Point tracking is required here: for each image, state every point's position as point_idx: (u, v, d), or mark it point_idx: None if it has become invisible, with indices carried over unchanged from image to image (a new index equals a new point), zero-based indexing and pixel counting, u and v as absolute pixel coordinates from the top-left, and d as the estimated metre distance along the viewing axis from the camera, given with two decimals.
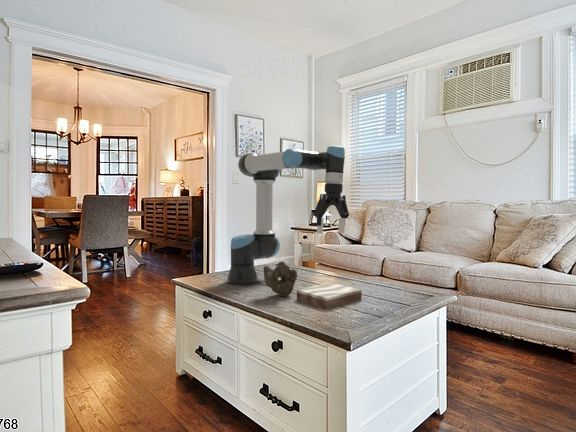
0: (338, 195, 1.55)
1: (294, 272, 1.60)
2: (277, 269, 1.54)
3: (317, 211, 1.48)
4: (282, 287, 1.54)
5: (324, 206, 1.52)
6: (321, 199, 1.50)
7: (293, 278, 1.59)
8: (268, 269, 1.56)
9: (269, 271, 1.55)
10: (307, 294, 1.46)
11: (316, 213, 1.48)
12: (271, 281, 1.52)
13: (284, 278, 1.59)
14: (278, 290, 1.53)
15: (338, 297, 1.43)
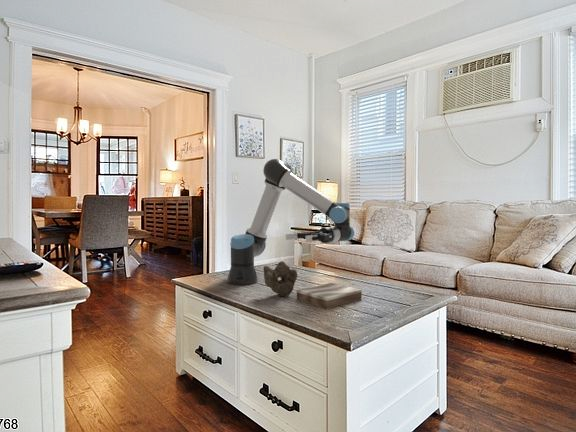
0: None
1: (294, 272, 1.60)
2: (277, 269, 1.54)
3: (325, 239, 1.63)
4: (282, 287, 1.54)
5: None
6: (329, 236, 1.68)
7: (293, 278, 1.59)
8: (268, 269, 1.57)
9: (269, 271, 1.55)
10: (307, 294, 1.46)
11: (324, 239, 1.62)
12: (271, 281, 1.52)
13: (284, 278, 1.59)
14: (278, 290, 1.53)
15: (338, 297, 1.43)
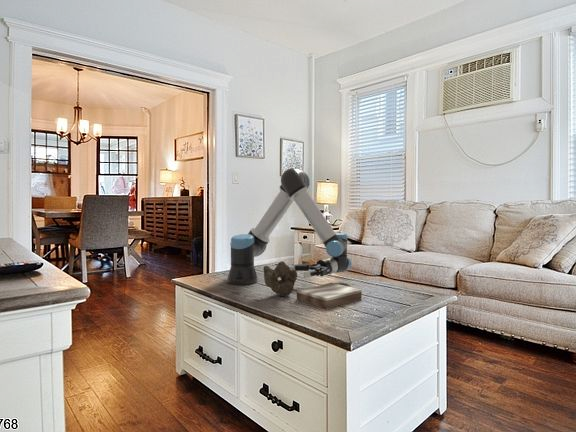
0: None
1: (294, 272, 1.60)
2: (277, 269, 1.54)
3: (323, 274, 1.62)
4: (282, 287, 1.54)
5: (319, 271, 1.67)
6: (327, 270, 1.67)
7: (293, 278, 1.59)
8: (268, 269, 1.56)
9: (269, 271, 1.55)
10: (307, 294, 1.46)
11: (322, 274, 1.62)
12: (271, 281, 1.52)
13: (284, 278, 1.59)
14: (278, 290, 1.53)
15: (338, 297, 1.43)
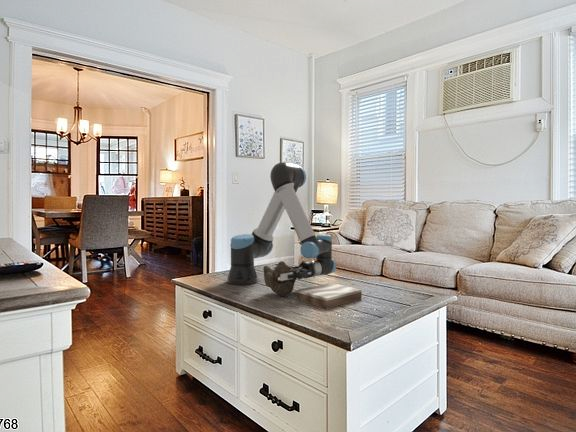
0: None
1: None
2: (277, 269, 1.54)
3: (301, 277, 1.56)
4: (282, 287, 1.54)
5: None
6: (307, 273, 1.60)
7: (293, 278, 1.59)
8: (268, 269, 1.56)
9: (269, 271, 1.55)
10: (307, 294, 1.46)
11: (300, 277, 1.55)
12: (271, 281, 1.52)
13: None
14: (278, 290, 1.53)
15: (338, 297, 1.43)
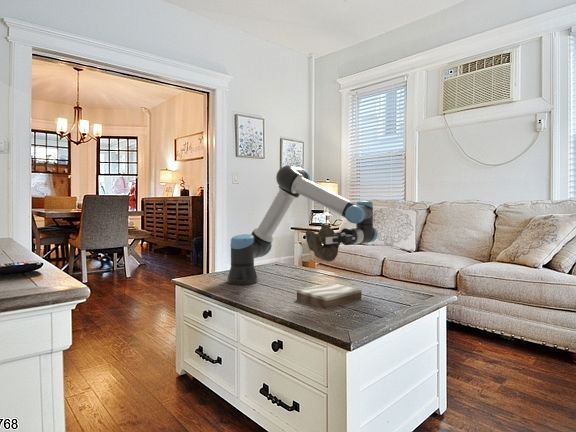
0: None
1: (338, 237, 1.52)
2: (321, 232, 1.47)
3: (347, 240, 1.48)
4: (327, 251, 1.47)
5: None
6: (352, 238, 1.53)
7: (337, 243, 1.52)
8: (311, 233, 1.49)
9: (313, 235, 1.48)
10: (307, 294, 1.46)
11: (346, 240, 1.48)
12: (316, 245, 1.45)
13: None
14: (323, 254, 1.46)
15: (338, 297, 1.43)
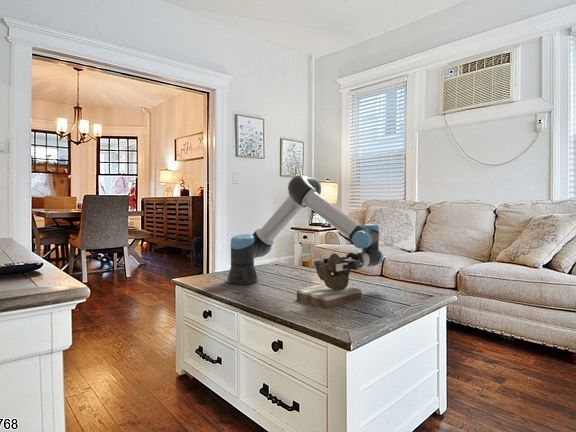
0: None
1: None
2: (330, 261, 1.47)
3: (356, 267, 1.48)
4: (338, 280, 1.46)
5: None
6: (359, 264, 1.53)
7: (347, 271, 1.51)
8: (320, 263, 1.49)
9: (322, 264, 1.48)
10: (307, 294, 1.46)
11: (356, 267, 1.47)
12: (326, 274, 1.44)
13: (337, 272, 1.51)
14: (334, 283, 1.44)
15: (338, 297, 1.43)
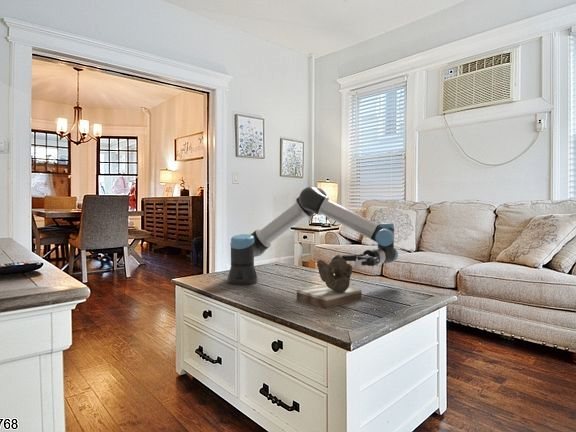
0: None
1: (349, 267, 1.51)
2: (334, 263, 1.45)
3: (374, 263, 1.55)
4: (340, 282, 1.45)
5: None
6: (376, 260, 1.60)
7: (348, 273, 1.50)
8: (323, 263, 1.47)
9: (325, 266, 1.46)
10: (307, 294, 1.46)
11: (374, 263, 1.55)
12: (328, 276, 1.43)
13: (339, 273, 1.50)
14: (335, 286, 1.44)
15: (338, 297, 1.43)
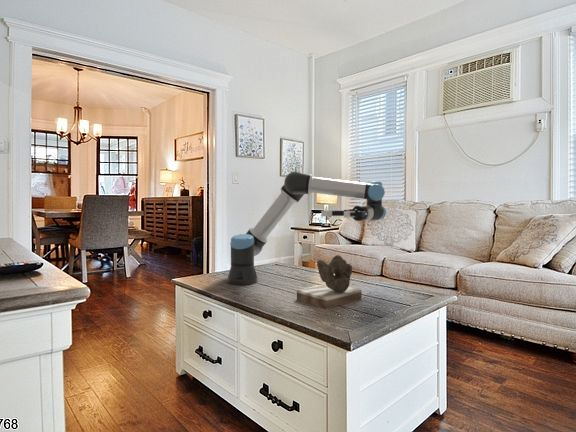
0: None
1: (349, 267, 1.50)
2: (334, 263, 1.45)
3: (362, 215, 1.64)
4: (339, 282, 1.45)
5: None
6: (364, 213, 1.69)
7: (348, 273, 1.50)
8: (323, 264, 1.47)
9: (325, 266, 1.46)
10: (307, 294, 1.46)
11: (362, 215, 1.63)
12: (328, 276, 1.43)
13: (339, 273, 1.50)
14: (335, 286, 1.44)
15: (338, 297, 1.43)
